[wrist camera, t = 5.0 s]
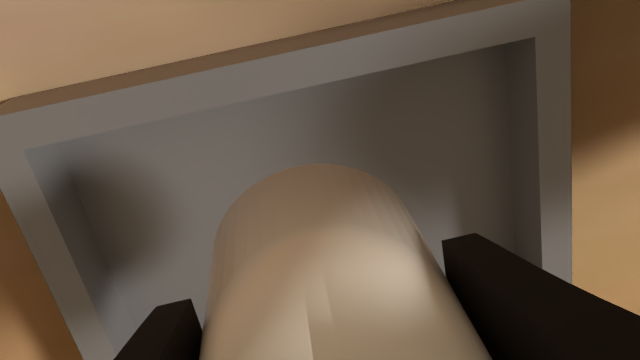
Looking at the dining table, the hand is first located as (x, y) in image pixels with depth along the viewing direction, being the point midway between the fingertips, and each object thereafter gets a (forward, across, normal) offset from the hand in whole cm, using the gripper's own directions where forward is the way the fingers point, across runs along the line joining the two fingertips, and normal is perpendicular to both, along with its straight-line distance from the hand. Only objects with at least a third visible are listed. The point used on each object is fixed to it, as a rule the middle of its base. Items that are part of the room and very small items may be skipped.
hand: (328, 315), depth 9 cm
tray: (+9, 0, +2) cm, 9 cm away
